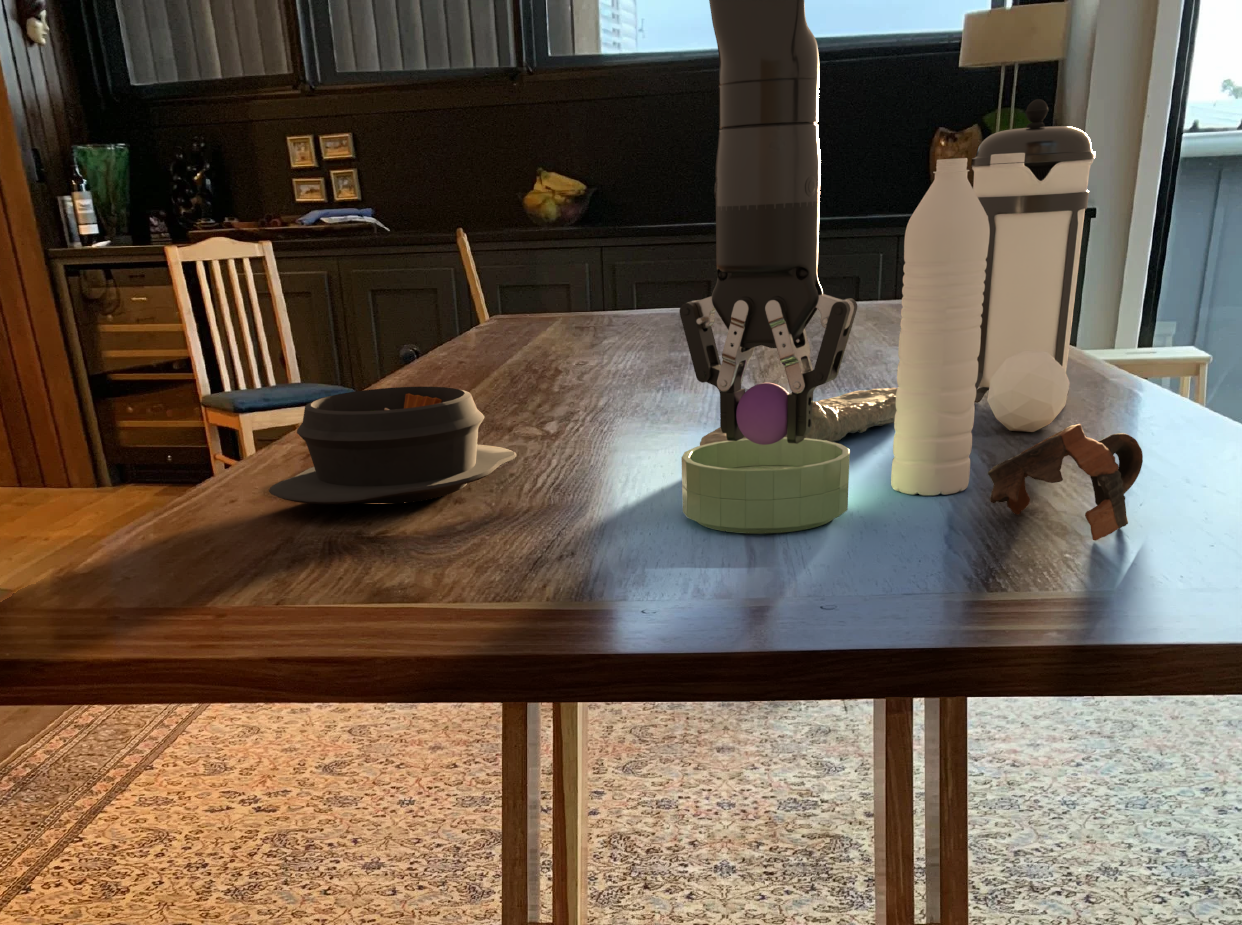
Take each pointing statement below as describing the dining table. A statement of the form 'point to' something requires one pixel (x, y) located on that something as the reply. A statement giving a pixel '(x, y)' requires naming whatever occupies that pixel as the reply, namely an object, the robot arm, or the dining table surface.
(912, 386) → the water bottle
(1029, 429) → the geometric ball
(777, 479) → the bowl
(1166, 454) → the dining table surface
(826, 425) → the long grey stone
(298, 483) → the grey pot on saucer
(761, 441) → the ball
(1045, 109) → the coffee press
